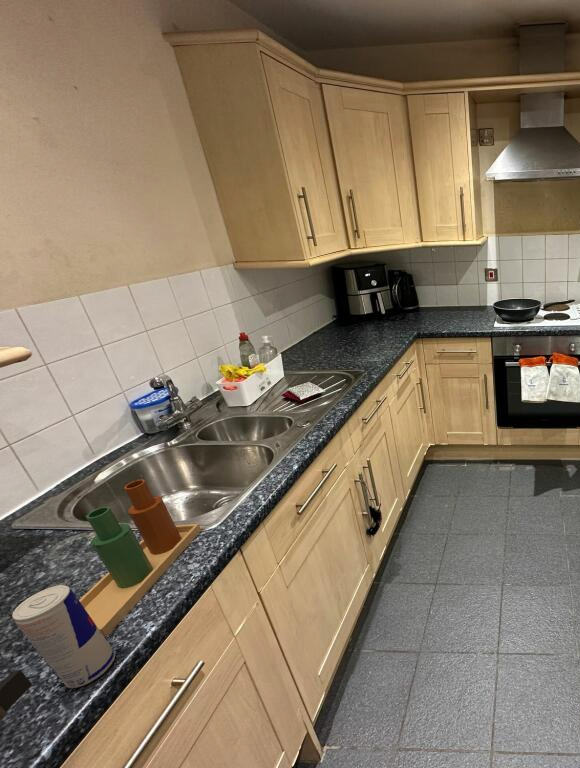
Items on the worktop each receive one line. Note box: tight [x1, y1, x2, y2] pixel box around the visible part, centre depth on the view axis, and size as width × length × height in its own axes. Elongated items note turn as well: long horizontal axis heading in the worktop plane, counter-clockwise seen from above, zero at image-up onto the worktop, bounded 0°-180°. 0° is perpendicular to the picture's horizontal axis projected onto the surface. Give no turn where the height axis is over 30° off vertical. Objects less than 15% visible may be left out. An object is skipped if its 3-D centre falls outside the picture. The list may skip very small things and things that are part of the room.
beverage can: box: [11, 584, 116, 689], centre depth 58 cm, size 6×6×15 cm
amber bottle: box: [124, 479, 182, 555], centre depth 81 cm, size 5×5×16 cm
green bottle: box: [85, 506, 153, 588], centre depth 74 cm, size 5×5×16 cm
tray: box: [78, 523, 203, 638], centre depth 77 cm, size 9×24×2 cm, turn 3°
